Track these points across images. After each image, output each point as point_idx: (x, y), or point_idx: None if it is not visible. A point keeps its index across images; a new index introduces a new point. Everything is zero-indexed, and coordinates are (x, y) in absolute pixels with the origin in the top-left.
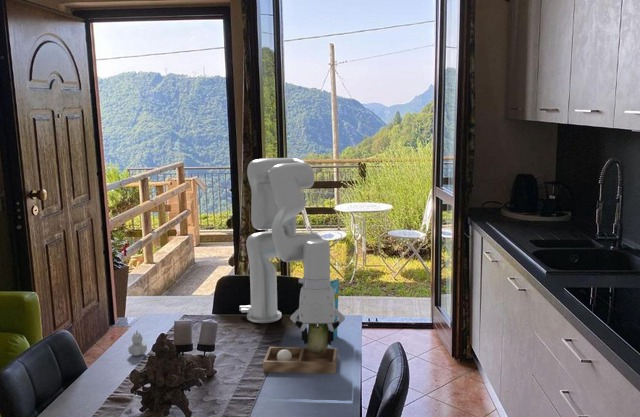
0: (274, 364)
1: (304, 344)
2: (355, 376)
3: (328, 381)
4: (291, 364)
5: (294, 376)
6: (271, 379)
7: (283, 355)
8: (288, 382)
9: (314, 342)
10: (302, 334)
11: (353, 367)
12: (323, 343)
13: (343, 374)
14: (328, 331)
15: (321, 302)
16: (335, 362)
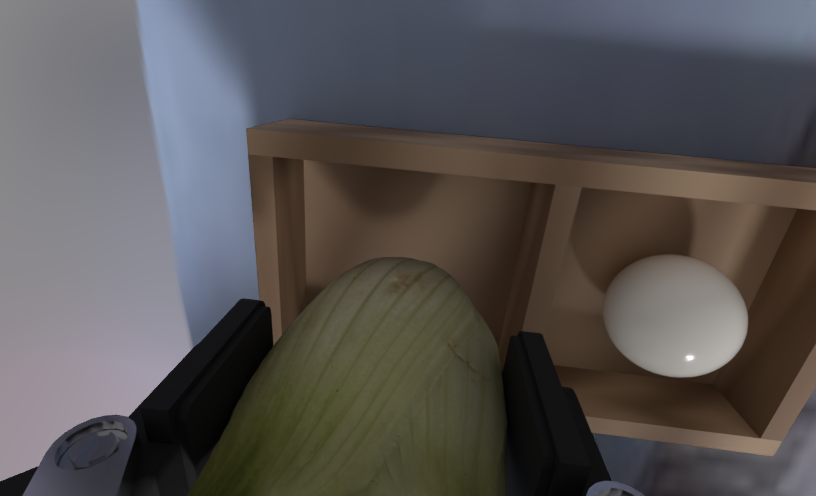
0: (795, 177)
1: (534, 333)
2: (152, 101)
3: (330, 18)
4: (637, 163)
5: (585, 115)
6: (783, 65)
7: (706, 287)
8: (649, 3)
9: (419, 323)
10: (585, 445)
11: (187, 234)
12: (317, 314)
13: (235, 136)
14: (187, 438)
15: None
16: (252, 164)
